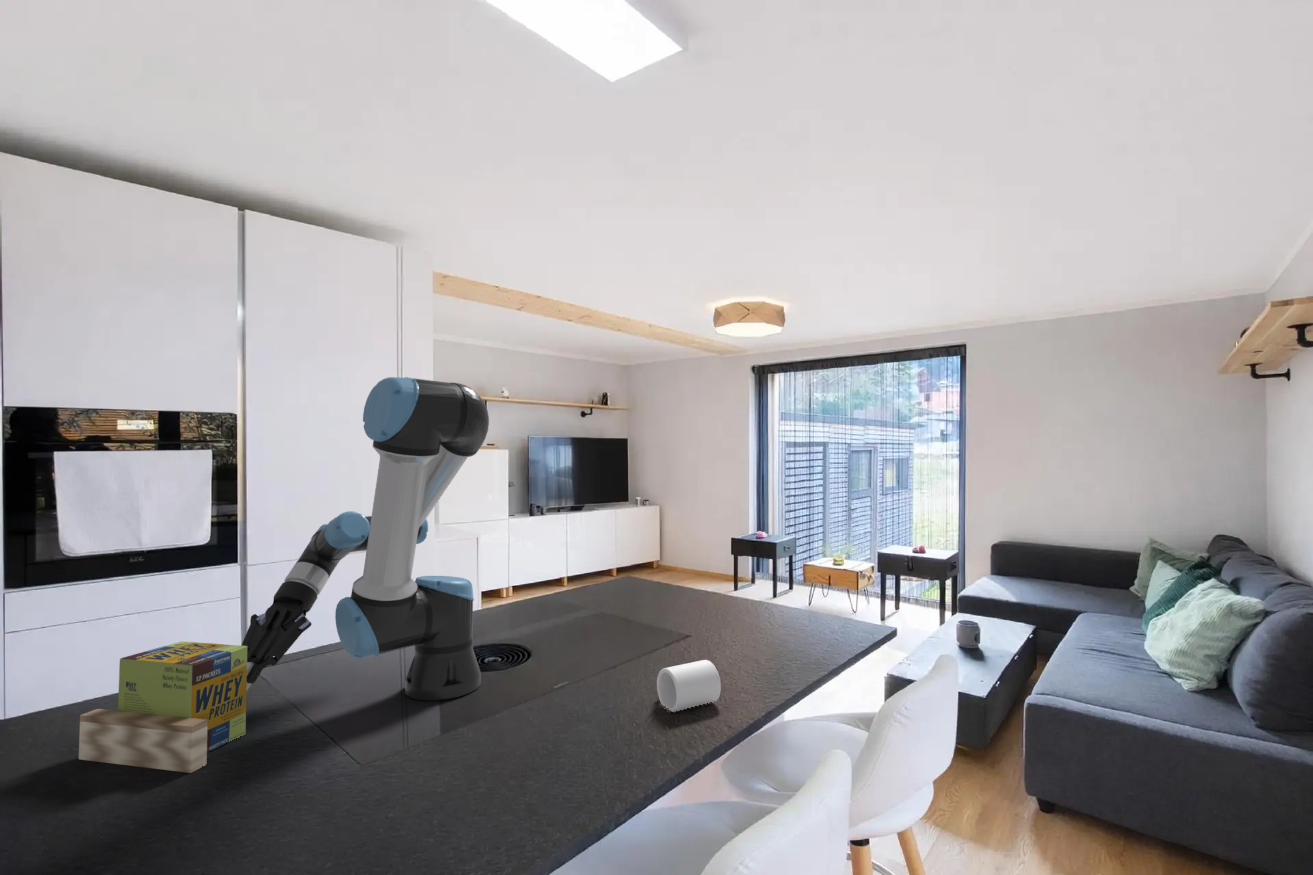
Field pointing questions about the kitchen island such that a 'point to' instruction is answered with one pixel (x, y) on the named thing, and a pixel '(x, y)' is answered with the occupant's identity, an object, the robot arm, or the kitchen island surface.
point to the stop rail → (143, 740)
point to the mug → (688, 685)
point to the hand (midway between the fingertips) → (232, 698)
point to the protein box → (189, 686)
